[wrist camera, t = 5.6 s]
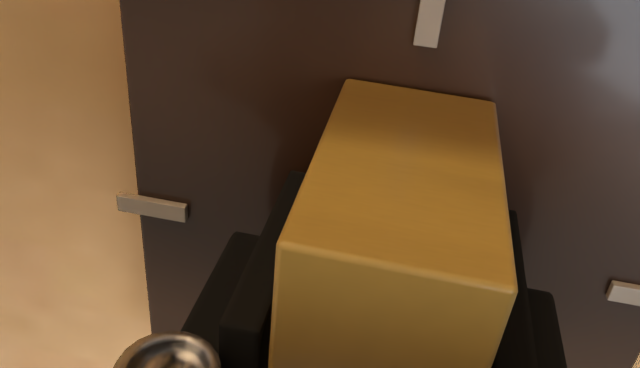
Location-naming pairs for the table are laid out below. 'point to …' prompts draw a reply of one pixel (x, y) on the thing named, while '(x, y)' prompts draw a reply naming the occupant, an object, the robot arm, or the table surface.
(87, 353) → the table surface
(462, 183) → the tan bar
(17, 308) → the table surface
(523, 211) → the panel
